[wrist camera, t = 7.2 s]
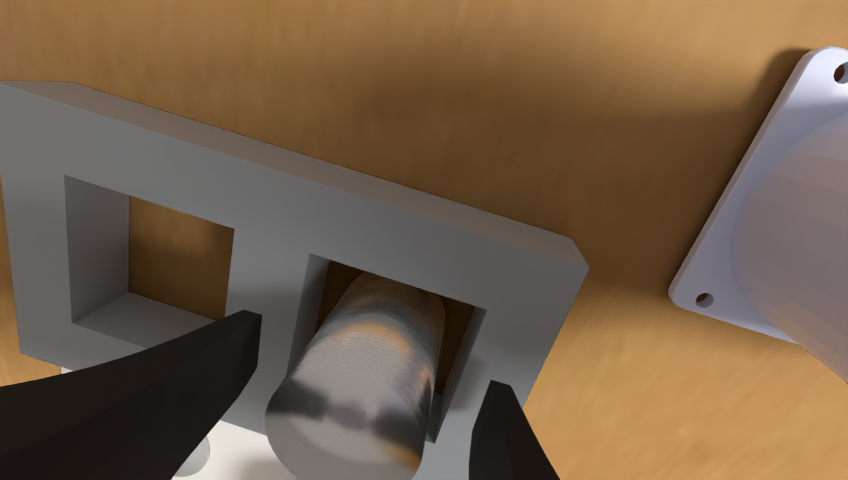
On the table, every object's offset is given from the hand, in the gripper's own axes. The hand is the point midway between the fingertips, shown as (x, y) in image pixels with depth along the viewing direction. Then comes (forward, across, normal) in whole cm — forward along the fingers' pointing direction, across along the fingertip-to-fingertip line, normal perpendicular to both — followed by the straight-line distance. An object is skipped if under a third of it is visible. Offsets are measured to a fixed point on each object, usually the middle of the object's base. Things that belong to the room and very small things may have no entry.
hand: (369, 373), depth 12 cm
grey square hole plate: (+3, +4, 0) cm, 5 cm away
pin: (+3, 0, 0) cm, 3 cm away
